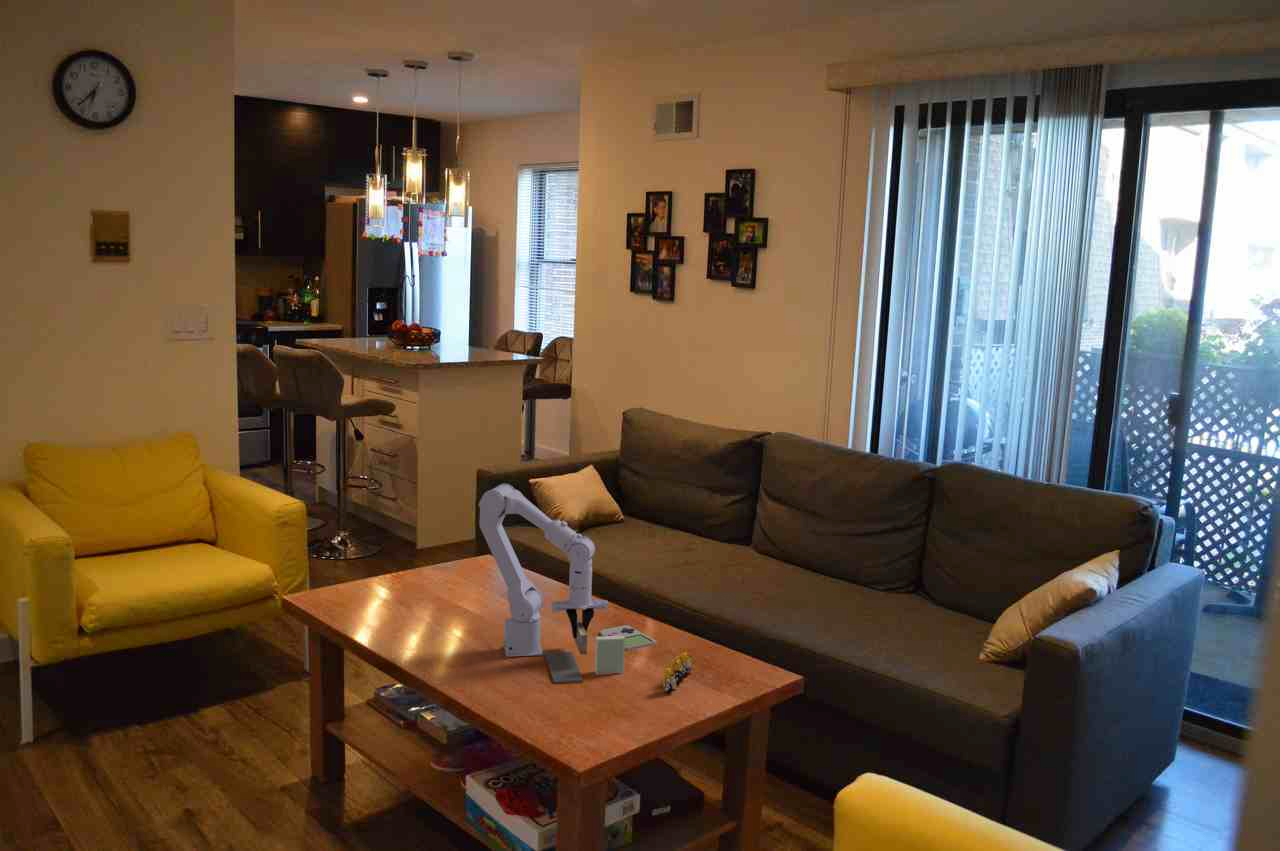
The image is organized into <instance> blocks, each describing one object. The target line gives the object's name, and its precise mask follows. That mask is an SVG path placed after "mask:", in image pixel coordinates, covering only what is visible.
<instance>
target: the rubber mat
mask: <svg viewBox="0 0 1280 851" xmlns="http://www.w3.org/2000/svg"><path fill="white" fill-rule="evenodd" d="M544 658H545V660H546V663H547V666H548V670H549V672H550V675H551V679H552V681H553V684H554V685H555V684H556V685H557V684H573V683H583V682H584V680H583V677H582V675H581V673H580V669H579V667H578V664H577V662H576V659H575V656H574V654H573V652H572V651H559V652H558V651H557V652H556V651H555V652H544Z"/></svg>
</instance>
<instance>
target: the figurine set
mask: <svg viewBox="0 0 1280 851" xmlns="http://www.w3.org/2000/svg"><path fill="white" fill-rule="evenodd" d="M691 659H692V656H691V652H690V651H689V652H687V650H685V651H684V652H682V653H681V654H680V655H678V656H675V657H674V659H672V660H670V661H669V662H668V665H667V667H668V668H665V669H664V671H663V676H664V677H663V680H662V681H663V682H662V683H663V685H662V686H663V688H665V689H664V690H665V694H666V693H667V694H669V695H670V696H672V695H671V694H672V692H675V691H674V690H676V691H677V689H676V688H680V687H679V685H680V684H681V683H680V682H683V681H684V679H685V678H688V676H689V675H688V674H691V673H692V672H691V671H692V668H691V667H692V661H691ZM686 674H687V675H686ZM691 675H692V674H691ZM678 682H679V683H678ZM683 683H684V682H683ZM676 686H678V687H676ZM667 694H666V695H667ZM669 695H668V696H669Z"/></svg>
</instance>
